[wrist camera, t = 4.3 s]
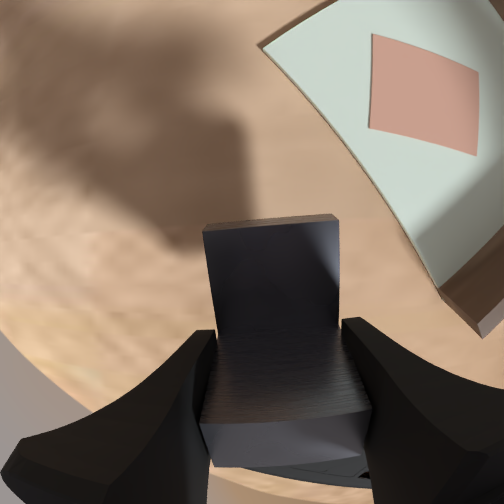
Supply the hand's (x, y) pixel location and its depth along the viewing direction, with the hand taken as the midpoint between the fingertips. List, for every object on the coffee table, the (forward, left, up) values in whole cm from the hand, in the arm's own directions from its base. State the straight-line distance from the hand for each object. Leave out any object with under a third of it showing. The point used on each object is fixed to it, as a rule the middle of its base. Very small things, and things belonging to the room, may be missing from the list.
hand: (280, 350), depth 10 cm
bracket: (+1, -1, -2) cm, 2 cm away
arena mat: (+1, -15, -6) cm, 16 cm away
